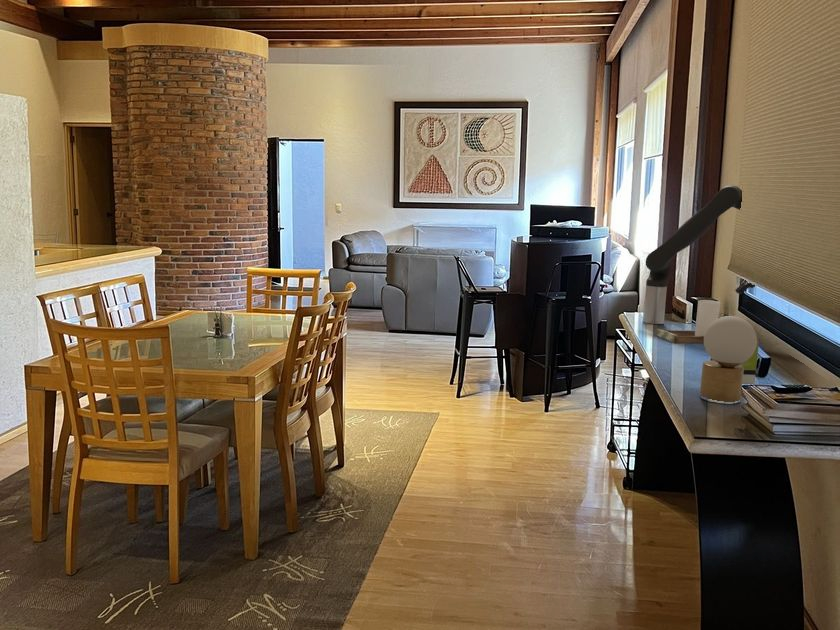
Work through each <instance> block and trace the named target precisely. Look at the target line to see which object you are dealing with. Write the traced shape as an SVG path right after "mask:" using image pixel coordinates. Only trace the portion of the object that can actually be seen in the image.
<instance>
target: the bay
mask: <svg viewBox="0 0 840 630" xmlns="http://www.w3.org/2000/svg"><path fill="white" fill-rule="evenodd" d="M656 335H657V336H656V337H658V336H659V337H658V338H661V337H662V338H661V339H663V338H664V340H666V339H667V340H666V341H668V340H669V341H668V342H671V343H673V342H674V344H689V343H690V344H704V336H695V329H662V328H656Z"/></svg>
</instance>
